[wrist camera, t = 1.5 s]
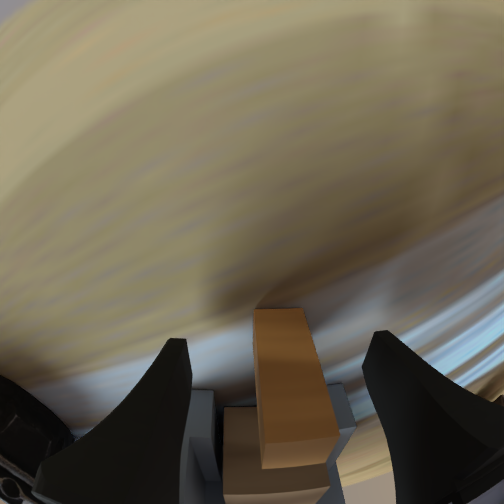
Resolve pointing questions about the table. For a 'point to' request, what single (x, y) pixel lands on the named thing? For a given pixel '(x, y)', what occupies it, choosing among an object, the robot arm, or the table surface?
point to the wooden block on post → (280, 419)
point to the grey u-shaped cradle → (211, 451)
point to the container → (25, 441)
